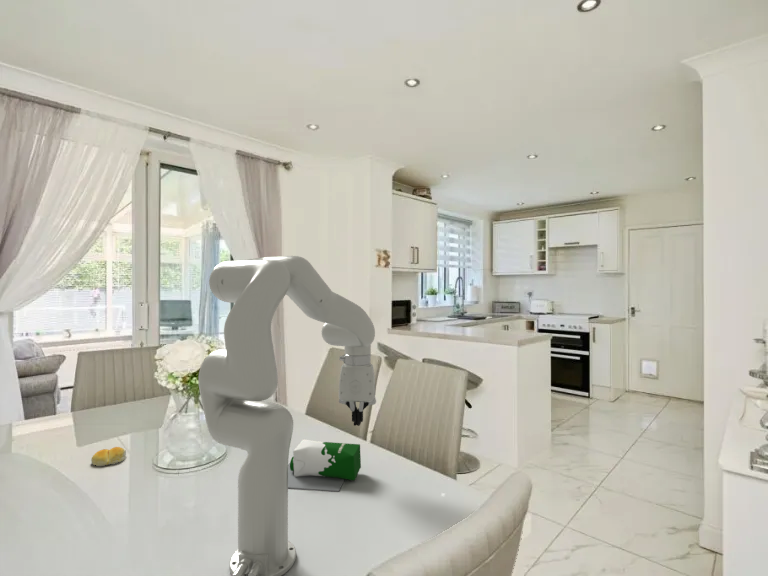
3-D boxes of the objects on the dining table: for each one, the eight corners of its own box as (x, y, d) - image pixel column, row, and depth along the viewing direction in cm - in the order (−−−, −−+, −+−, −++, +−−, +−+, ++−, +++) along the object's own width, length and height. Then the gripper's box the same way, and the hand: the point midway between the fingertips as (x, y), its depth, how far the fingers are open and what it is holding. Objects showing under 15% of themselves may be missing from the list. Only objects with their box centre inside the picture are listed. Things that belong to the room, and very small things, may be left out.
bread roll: (94, 459, 129) (94, 446, 129) (127, 454, 133) (127, 442, 133) (88, 469, 121) (88, 456, 121) (123, 464, 125) (123, 451, 125)
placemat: (338, 491, 108) (338, 490, 108) (270, 487, 110) (270, 486, 110) (350, 465, 124) (350, 464, 124) (291, 462, 126) (291, 461, 126)
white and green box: (361, 468, 120) (299, 463, 124) (360, 439, 119) (297, 435, 123) (353, 485, 112) (286, 479, 116) (352, 454, 111) (285, 449, 115)
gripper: (328, 362, 113) (328, 427, 113) (381, 363, 111) (381, 429, 111) (335, 357, 120) (335, 418, 120) (385, 358, 118) (384, 421, 118)
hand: (357, 424), depth 116 cm, fingers closed
